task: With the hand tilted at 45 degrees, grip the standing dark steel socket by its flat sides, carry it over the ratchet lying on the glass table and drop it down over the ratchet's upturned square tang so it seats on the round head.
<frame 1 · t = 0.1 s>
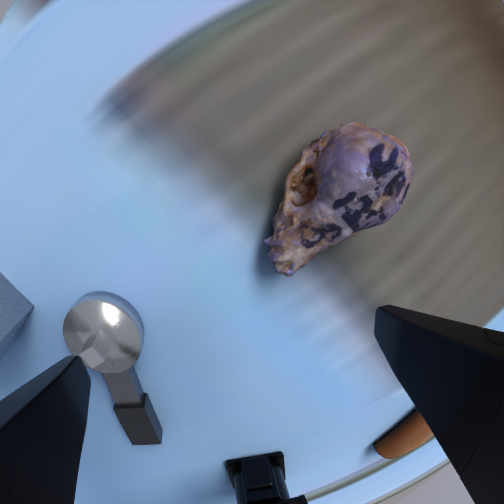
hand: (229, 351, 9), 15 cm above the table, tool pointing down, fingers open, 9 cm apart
sunglasses case: (431, 402, 33), on the table
skull: (318, 196, 23), on the table
socket: (4, 305, 21), on the table
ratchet: (106, 327, 23), on the table
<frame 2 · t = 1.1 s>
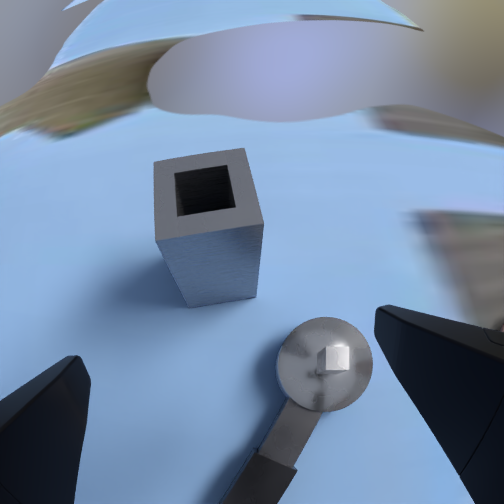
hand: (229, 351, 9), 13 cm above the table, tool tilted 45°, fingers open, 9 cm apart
socket: (217, 272, 24), on the table
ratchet: (320, 367, 21), on the table
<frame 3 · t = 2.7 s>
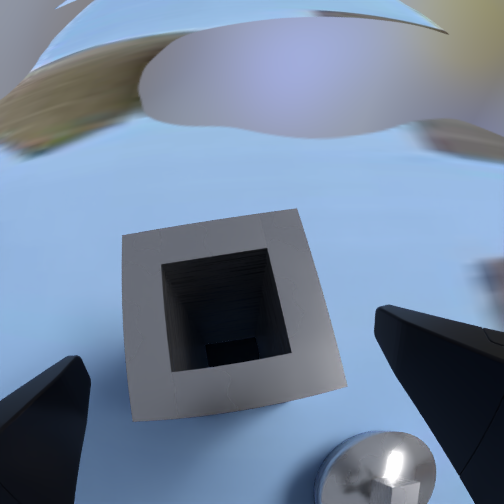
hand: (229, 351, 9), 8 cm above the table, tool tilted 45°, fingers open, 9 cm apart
socket: (234, 365, 16), on the table
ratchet: (369, 482, 13), on the table
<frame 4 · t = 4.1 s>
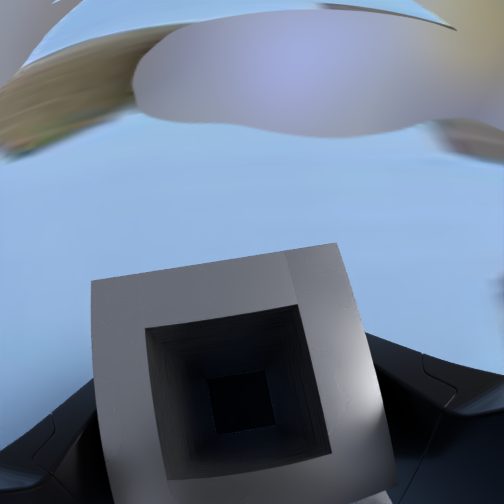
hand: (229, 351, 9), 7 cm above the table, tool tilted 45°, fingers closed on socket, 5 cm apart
socket: (241, 402, 14), on the table, touching gripper
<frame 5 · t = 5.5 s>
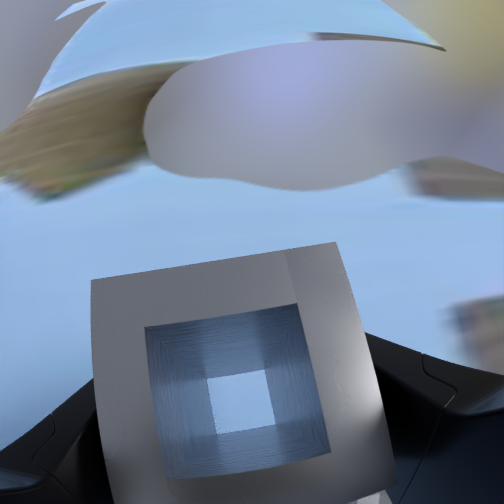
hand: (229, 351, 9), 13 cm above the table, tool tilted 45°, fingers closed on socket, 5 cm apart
socket: (240, 402, 14), point 7 cm above the table, touching gripper
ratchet: (345, 490, 17), on the table
when the fingers open (12 cm above the table, at t = 7.1 s): socket drops 3 cm, resting on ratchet.
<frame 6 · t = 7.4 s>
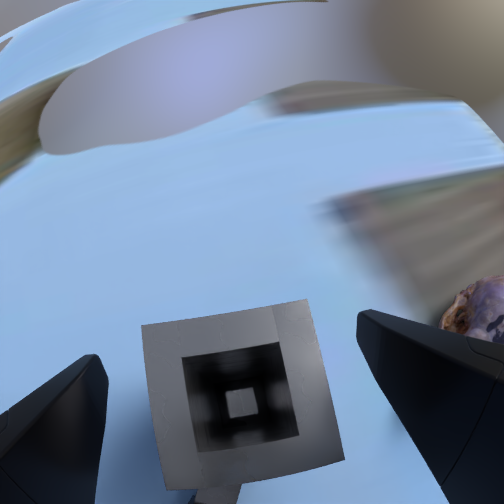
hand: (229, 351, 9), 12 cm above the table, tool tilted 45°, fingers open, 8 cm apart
skull: (456, 348, 20), on the table
socket: (241, 402, 17), point 2 cm above the table, touching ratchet
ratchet: (242, 403, 19), on the table
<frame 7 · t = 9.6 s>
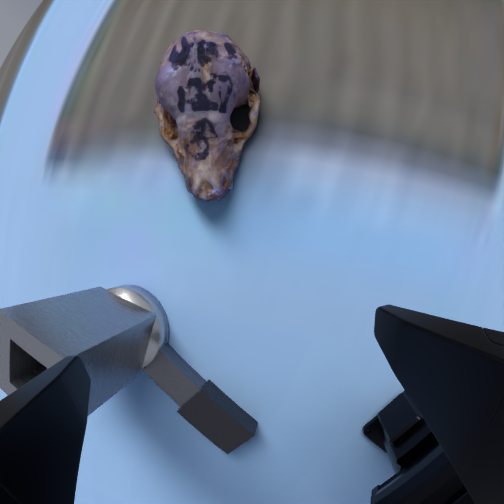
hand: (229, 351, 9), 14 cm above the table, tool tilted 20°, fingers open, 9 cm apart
skull: (210, 127, 23), on the table
socket: (119, 330, 21), point 2 cm above the table, touching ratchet
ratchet: (132, 324, 23), on the table
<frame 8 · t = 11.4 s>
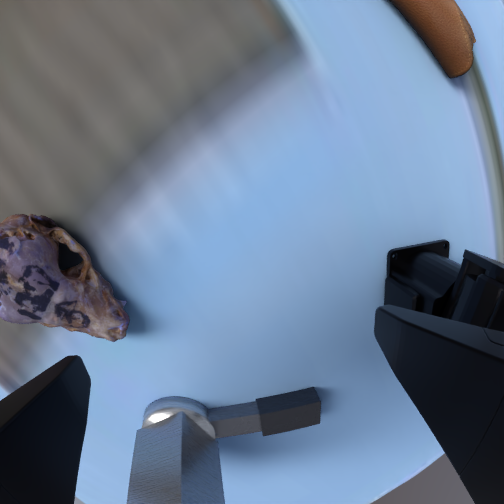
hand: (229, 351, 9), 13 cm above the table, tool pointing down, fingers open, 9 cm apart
skull: (63, 277, 20), on the table
socket: (177, 437, 23), point 2 cm above the table, touching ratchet
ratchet: (178, 421, 25), on the table
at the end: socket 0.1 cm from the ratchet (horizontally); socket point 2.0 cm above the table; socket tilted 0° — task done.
